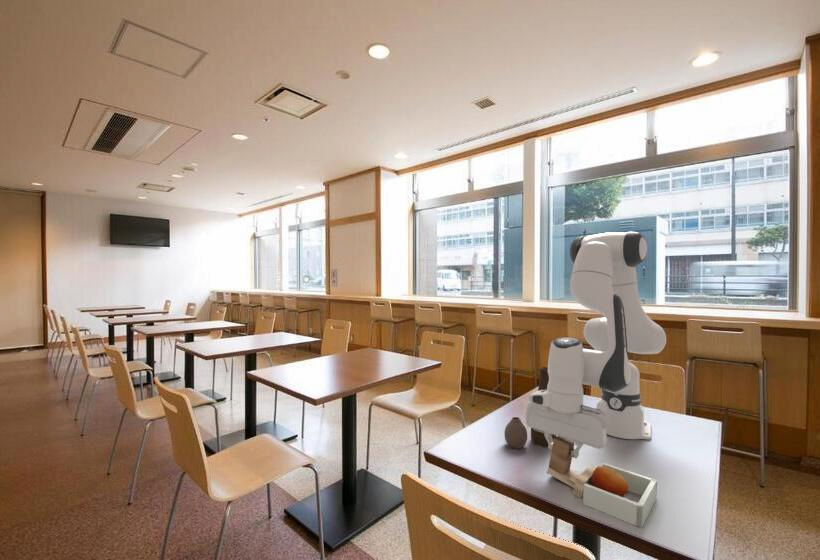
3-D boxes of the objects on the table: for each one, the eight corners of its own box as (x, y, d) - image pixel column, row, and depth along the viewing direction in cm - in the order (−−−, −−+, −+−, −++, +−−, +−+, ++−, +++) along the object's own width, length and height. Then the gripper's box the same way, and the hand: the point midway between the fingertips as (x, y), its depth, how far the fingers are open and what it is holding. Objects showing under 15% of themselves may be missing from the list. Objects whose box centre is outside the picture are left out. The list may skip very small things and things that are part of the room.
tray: (603, 479, 101) (603, 462, 101) (656, 498, 92) (656, 480, 92) (583, 503, 90) (583, 484, 90) (641, 527, 82) (642, 507, 81)
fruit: (576, 484, 95) (592, 456, 96) (599, 497, 97) (614, 469, 98) (599, 503, 87) (616, 472, 88) (624, 517, 89) (640, 486, 90)
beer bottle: (555, 439, 125) (557, 366, 125) (556, 449, 118) (558, 372, 117) (530, 435, 128) (532, 364, 127) (530, 445, 120) (532, 369, 120)
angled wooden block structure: (559, 463, 106) (564, 431, 105) (596, 482, 99) (603, 448, 98) (542, 476, 99) (548, 442, 98) (581, 498, 92) (588, 461, 91)
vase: (528, 452, 115) (528, 423, 115) (504, 449, 117) (505, 421, 117) (525, 442, 122) (526, 415, 122) (503, 440, 124) (504, 413, 123)
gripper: (611, 408, 95) (609, 463, 95) (533, 389, 109) (532, 437, 110) (603, 414, 91) (601, 472, 91) (523, 394, 105) (522, 444, 105)
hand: (563, 453), depth 100 cm, fingers open, 4 cm apart
